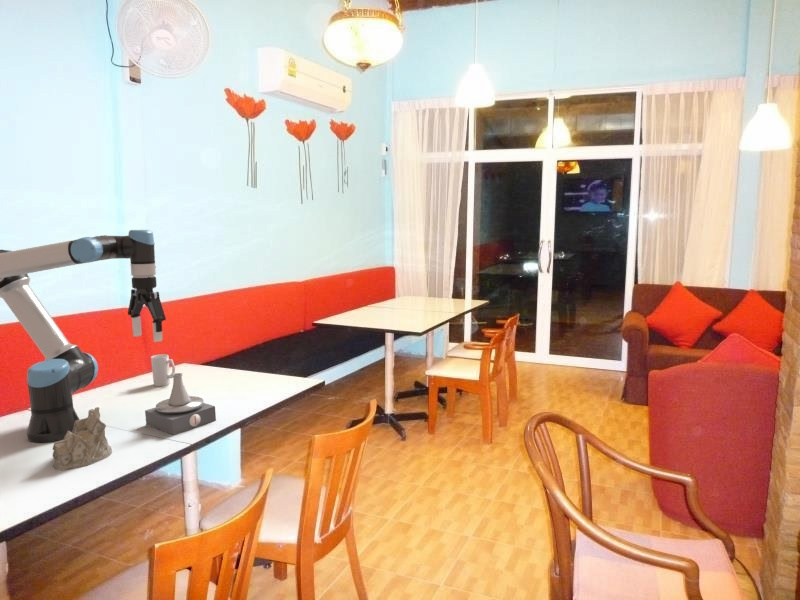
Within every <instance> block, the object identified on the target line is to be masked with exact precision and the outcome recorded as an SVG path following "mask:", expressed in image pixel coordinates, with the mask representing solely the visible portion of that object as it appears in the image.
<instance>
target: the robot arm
mask: <svg viewBox="0 0 800 600" xmlns="http://www.w3.org/2000/svg"><path fill="white" fill-rule="evenodd" d="M154 239H155V238H154V233H153V231H152V230H151V229H131V230H129V231H128V235H107V234H106V235H95V236H85V237H79V238H76V239H73V240H66V241H61V242H56V243H51V244H44V245H40V246H39V245H38V246H34V247H33V246H32V247H28V248H23V249H19V250H18V249H17V250H11V249H10V250H9V249H0V298H1V299H3V301H4V302H5V304H6V305H7V307H8V308H9V309H10V311H11V312H12V313H13V315H14V316H15V317H16V319H17V320H18V322H19V323H20V324H21V326H22V327H23V329H24V330H25V332H26V333H27V335H28V336H29V337H30V338H31V340H32V342H33V343H34V344H35V346H36V347H37V348H38V350H39V351H40V352H41V354H42V355H43V357H44V360H43V361H39V362H36V363H34V364H33V365H31V366H29V368H27V371H26V373H27V374H26V377H27V378H26V384H27V388H28V389H27V390H28V395H29V404H30V412H31V413H30V414H31V415H30V419H29V422H28V427H27V431H26V437H27V441H30V442H31V443H32V442H33V443H48V442H58V441H62V440H64V437H65V435H66V433H67V431H70V432H72V430H73V427H74V423H75V421H77V420H80V418H79V415H78V413H77V412H76V410H75V408H74V400H73V394H74V393H76V392H77V391H78V392H79V391H80V390H81V389H84V388H86V387H87V386H89V385H90V384H91V383H93V382H94V381H95V379H96V377H97V376H98V372H99V365H98V361H97V360H96V358H95V357H94V356H93V355H92V354H90V353H87V352H84V351H82V349H80V347H79V346H78V345H77V344H73V343H71V342H70V341H69V340H68V338H67V337H66V336H65V334H64V333H63V332H62V330H61V328H59V326H58V324H57V323H56V322H55V320H54V319H53V317H52V316H51V315H50V313H49V311H48V310H47V309H46V307H45V306H44V305H43V303H42V301H40V299H39V298H38V296H37V294H36V293H35V292H34V291H33V289H32V288H31V287H30V281H31V278H30V275H28V274H32V273H38V272H42V271H49V270H54V269H58V268H59V269H60V268H65V267H69V266H70V267H71V266H75V265H81V264H87V263H88V264H89V263H93V262H99V261H106V260H113V259H129V260H130V275H131V276H132V278H131V288H132V289H130V300H129V304H128V310H127V315H128V316H130V317H131V324H132V336H133V337H140V336H143V333H142V316H141V312H142V309H143V307H144V306H145V307H147V309H148V311H149V313H150V315H151V318H152V320H153V321H152V322H151V323H152V335H153V342H154V343H156V342H158V343H159V342H163V340H164V339H163V337H164V336H163V325H162V322H164V321H166V319H167V318H166V315H165V311H164V309H163V305H162V301H161V299H160V292H159V291H154V289H155V288H156V287H157V285H158V284H157V277H156V273H157V271H156V267H157V265H156V255H155V254H156V253H155V240H154ZM133 337H132V338H133Z"/></svg>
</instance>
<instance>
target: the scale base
mask: <svg viewBox="0 0 800 600" xmlns="http://www.w3.org/2000/svg"><path fill="white" fill-rule="evenodd" d="M144 413H145V426H149V427H151V428H154V429H157V430H159V431H161V432H164V433H167V434H170V435H172V436H174V435H177V434H180V433H184V432H185V431H189V430H192V429H195V428H198V427H200V426H203V425H206V424H209V423H212V422H215V421H217V417H216V406H215V405H212V404H209V403H205V402H204V404H203V405H202V406H201V407H200V408H197V409H195V410H192V411H188V412H182V413H161V412H158V411H157V410H156V406H155V407H152V408H149V409H145V410H144Z"/></svg>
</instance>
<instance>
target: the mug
mask: <svg viewBox="0 0 800 600" xmlns="http://www.w3.org/2000/svg"><path fill="white" fill-rule="evenodd" d="M150 360H151V370H152V379H153V386H154V387H163V386H168V385H170V384H171V379H173V377H172V375H173V374H175V372H176V366H175V363H174V360H173V359H172V358H171V359H170V357H169V354H163V353H162V354H160V353H159V354H155V355H152V356H150ZM170 365H171V368H172V371H171V373H170Z"/></svg>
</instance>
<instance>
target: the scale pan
mask: <svg viewBox="0 0 800 600" xmlns="http://www.w3.org/2000/svg"><path fill="white" fill-rule="evenodd" d="M189 397H190V399H191V401H190V403H187V404H185V405H178V406H172V405H168V402H169V399H170V398H167V399H164V400H161V401H159V402H157V403H156V404H155V407H156V410H157V411H158V412H161V413H182V412H188V411H192V410H195V409H197V408H200V407H201V406H202V405H203V404H204V403H205V402H204V398H202V397H200V396H192V395H189Z"/></svg>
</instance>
